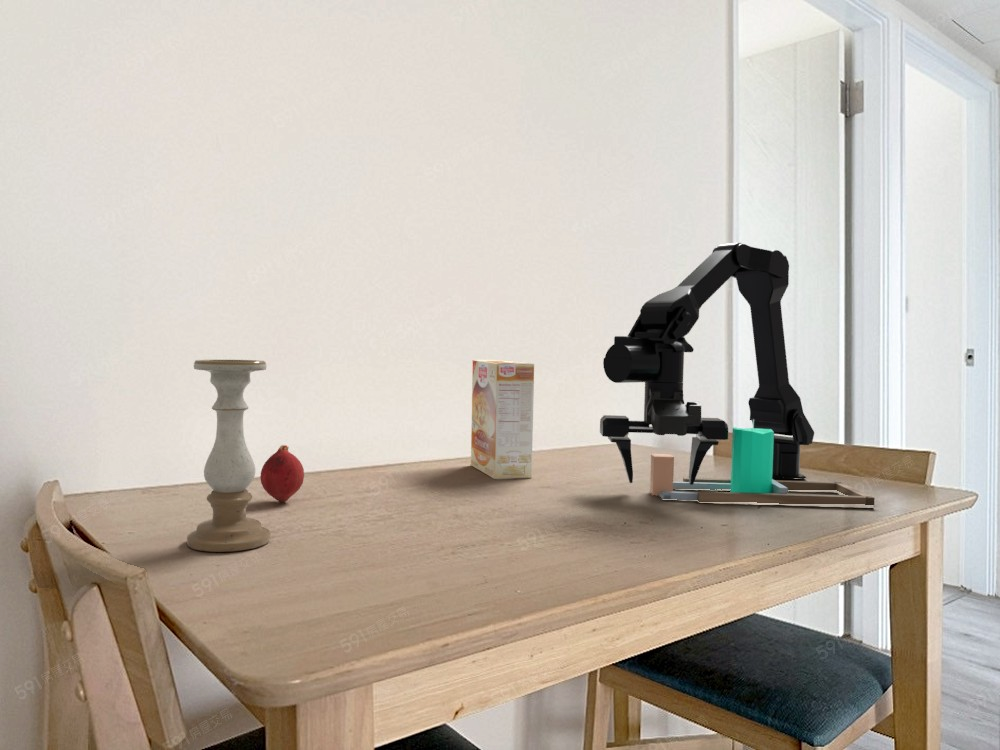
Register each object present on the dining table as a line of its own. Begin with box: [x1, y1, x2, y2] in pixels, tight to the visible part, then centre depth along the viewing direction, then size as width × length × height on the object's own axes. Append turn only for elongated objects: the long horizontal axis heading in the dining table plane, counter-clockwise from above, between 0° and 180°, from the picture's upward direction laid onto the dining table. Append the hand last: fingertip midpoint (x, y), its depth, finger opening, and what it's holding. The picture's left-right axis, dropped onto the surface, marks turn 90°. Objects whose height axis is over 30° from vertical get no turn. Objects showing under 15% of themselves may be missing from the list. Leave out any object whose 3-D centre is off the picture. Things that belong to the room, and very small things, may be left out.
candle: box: [730, 419, 775, 493], centre depth 122 cm, size 6×6×12 cm
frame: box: [649, 453, 789, 500], centre depth 122 cm, size 10×19×6 cm, turn 88°
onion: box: [260, 444, 305, 503], centre depth 111 cm, size 6×6×8 cm
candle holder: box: [186, 359, 271, 553], centre depth 89 cm, size 9×9×20 cm
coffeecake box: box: [470, 359, 535, 480], centre depth 140 cm, size 15×7×20 cm, turn 17°
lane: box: [682, 477, 875, 506], centre depth 122 cm, size 13×25×2 cm, turn 88°
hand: (660, 483), depth 123 cm, fingers open, 9 cm apart
